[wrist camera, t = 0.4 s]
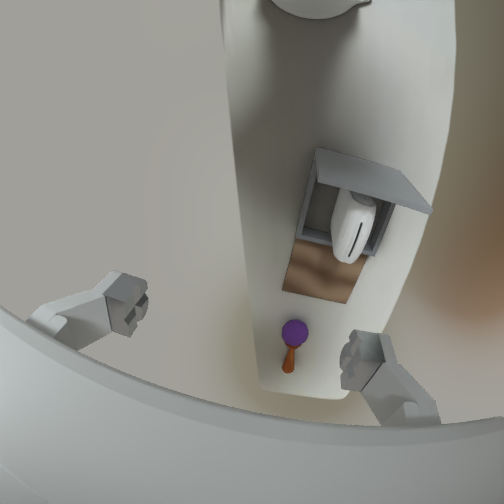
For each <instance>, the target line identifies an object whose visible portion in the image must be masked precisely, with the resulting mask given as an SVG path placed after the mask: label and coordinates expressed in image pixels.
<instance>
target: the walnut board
mask: <svg viewBox="0 0 504 504" xmlns="http://www.w3.org/2000/svg"><path fill="white" fill-rule="evenodd" d="M367 257H368V255H366V254H362V253H361V254H360V256H359V257H358V258H357V260H356V261H355V262H354V263H351V264H348V263H345V262H341V261H339V260H338V259H337V258H336V257H335V256H334V254H333V246H328V245H324V244H320V243H315V242H311V241H307V240H302V239H298V238H296V240H295V243H294V247H293V251H292V255H291V258H290V262H289V266H288V269H287V273H286V277H285V280H284V284H283V288H282V290H284V291H288V292H293V293H297V294H302V295H307V296H311V297H316V298H321V299H325V300H330V301H335V302H340V303H345V304H346V302H347V300H348V298H349V296H350V294H351V292H352V290H353V288H354V286H355V284H356V281H357V279H358V277H359V275H360V273H361V270H362V268H363V266H364V264H365V261H366V259H367Z"/></svg>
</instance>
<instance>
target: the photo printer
mask: <svg viewBox="0 0 504 504" xmlns="http://www.w3.org/2000/svg"><path fill="white" fill-rule="evenodd" d="M375 213H376V203H375V201H374V199H373V197H371V196H368V195H364V194H361V193H357V192H354V191H350V190H346V189H342V188H340V190H339V193H338V196H337V200H336V203H335V207H334V210H333V214H332V218H331V236H332V246H333V254H334V256H335V257H336V258H337V259H338V260H339V261H341V262H345V263H348V264H351V263H354V262H355V261H356V260H357V258H358V257H359V256H360V254H361V252H362V251H363V249H364V247H365V244H366V242H367V240H368V237H369V235H370V232H371V229H372V226H373V222H374V219H375Z"/></svg>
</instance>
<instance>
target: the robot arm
mask: <svg viewBox="0 0 504 504" xmlns="http://www.w3.org/2000/svg"><path fill="white" fill-rule="evenodd" d="M368 1H370V0H272V2H273V3H274V4H276V5H277V6H278V7H279V8H281V9H282V10H284V11H286V12H288V13H290V14H293V15H295V16H299V17H303V18H309V19H326V18H331V17H335V16H338V15H340V14H342V13H344V12H346V11H347V10H349V9H350V8H351V7H352V6H354V5H356V4H359V3H364V2H368ZM147 289H148V286H147V282H146V280H144V279H141V278H138V277H135V276H132V275H128V274H126V273H122V272H119V271H116V270H112V271H111V272H110V273H109V274H108V275H107V276H106V277H105V278H104V279H103V280H102V281H101V282H100V283H99V284H98V285H97V286H96V287H95V288H94V289H93V290H92V291H91V290H86V291H83V292H80V293H77V294H74V295H71V296H68V297H65V298H62V299H59V300H55V301H52V302H49V303H46V304H43V305H41V306H40V307H39V308H38V309H37V310H36V311H35V312H34V313H33V314H32V315H31V316H30V317H29V318H28V319H27V321H23V320H21V319H20V318H18V317H17V316H15V315H14V314H12V313H11V312H9V311H8V310H6V309H5V308H3V307H2V306H1V305H0V504H504V417H501V416H499V417H492V418H487V419H481V420H475V421H468V422H460V423H451V424H441V421H440V416H439V413H438V409H437V405H436V401H435V400H434V399H433V398H432V397H431V396H430V395H429V394H428V393H427V392H426V391H425V389H424V388H423V387H422V386H421V385H420V384H419V383H418V382H417V381H416V380H415V379H414V378H413V377H412V376H411V375H410V374H409V373H408V371H407V370H405V368H404V367H403V366H402V365H400V364H397V359H396V356H395V352H394V349H393V345H392V342H391V338H390V336H389V335H388V334H381V333H373V332H366V331H360V330H355V329H354V330H353V331H352V332H351V334H350V336H349V340H350V342H348V343H347V344H345V345H344V347H343V349H342V351H341V355H340V368H341V369H342V370H343V373H342V374H341V389H344V390H352V391H359V392H361V394H362V396H363V397H364V399H365V400H366V402H367V403H368V405H369V407H370V408H371V410H372V411H373V413H374V414H375V416H376V418H377V419H378V421H379V422H380V424H381V426H359V425H343V424H331V423H321V422H312V421H305V420H298V419H291V418H284V417H278V416H273V415H267V414H262V413H256V412H252V411H247V410H242V409H238V408H234V407H229V406H226V405H222V404H218V403H214V402H210V401H207V400H203V399H199V398H196V397H192V396H189V395H186V394H183V393H180V392H177V391H174V390H170V389H168V388H165V387H162V386H159V385H156V384H153V383H150V382H148V381H145V380H142V379H140V378H137V377H135V376H132V375H130V374H127V373H125V372H122V371H120V370H117V369H115V368H113V367H110V366H108V365H106V364H104V363H101V362H99V361H97V360H95V359H93V358H91V357H88V356H86V355H84V354H82V353H80V352H78V350H80V349H82V348H84V347H86V346H87V345H89V344H91V343H93V342H95V341H97V340H99V339H100V338H102V337H104V336H106V335H108V334H109V333H111V332H112V331H113V332H116V333H119V334H121V335H124V336H127V337H131V335H132V334H133V332H134V331H135V329H136V328H137V321H140V320H142V319H143V318H144V316H145V315H146V312H147V309H148V297H147V295H146V294H145V292H146V290H147Z"/></svg>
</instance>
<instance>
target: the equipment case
mask: <svg viewBox="0 0 504 504" xmlns="http://www.w3.org/2000/svg"><path fill="white" fill-rule="evenodd" d="M316 175H317V181H318V182H319V183H323V184H327V185H331V186H335V187H339V188H342V189H346V190H350V191H354V192H357V193H361V194H364V195H368V196H371V197H375V198H378V199H382V200H385V203H384V206H383V209H382V211H381V214H380V217H379V220H378V222H377V225H376V227H375V230H374V233H373V235H372V238H371V240H370V243H368V242H366V244H365V247H364V249H363V251H362V252H361V253H362V254H366V255H370V256H375V254H376V252H377V249H378V247H379V245H380V242H381V240H382V238H383V235H384V233H385V230H386V228H387V225H388V223H389V220H390V218H391V215H392V212H393V210H394V207H395V205H396V204H398V205H401V206H404V207H408V208H411V209H414V210H417V211H420V212H423V213H426V214H429V215H431V213H432V211H433V209H432V208H431V206H430V205H429V204H428V203H427V201H426V200H425V199H424V198H423V197H422V195H421V194H420V193H419V192H418V191H417V189H416V188H415V187H414V186H413V185H412V184H411V183H410V181H409V180H408V179H407V178H406V177H405V176H404V175H403V174H402V173H401V172H400V171H398V170H396V169H393V168H389V167H386V166H383V165H380V164H377V163H374V162H370V161H367V160H364V159H360V158H357V157H353V156H350V155H346V154H342V153H339V152H335V151H331V150H327V149H323V148H319V147H316V150H315V154H314V159H313V163H312V167H311V172H310V176H309V180H308V184H307V189H306V193H305V197H304V201H303V205H302V209H301V213H300V217H299V221H298V225H297V229H296V238H298V239H302V240H307V241H311V242H315V243H320V244H324V245H328V246H332V236H331V233H327V232H323V231H319V230H314V229H310V228H306V227H303V226H304V222H305V219H306V215H307V211H308V207H309V203H310V199H311V195H312V191H313V187H314V183H315V179H316Z"/></svg>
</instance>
